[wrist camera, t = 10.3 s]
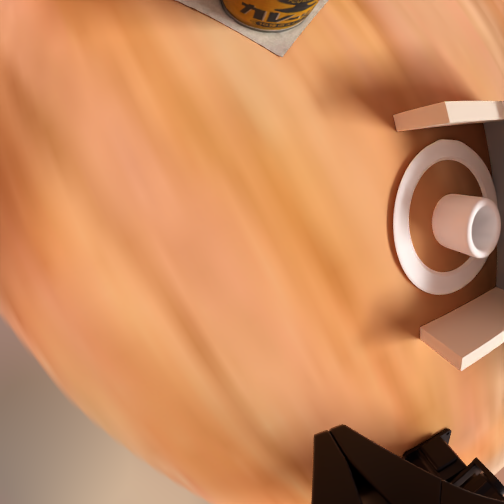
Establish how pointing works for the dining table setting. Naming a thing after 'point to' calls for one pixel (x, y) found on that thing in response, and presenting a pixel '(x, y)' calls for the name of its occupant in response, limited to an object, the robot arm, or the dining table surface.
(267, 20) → the condiment
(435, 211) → the white ring with cylinder
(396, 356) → the dining table surface
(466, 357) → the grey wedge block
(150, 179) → the dining table surface
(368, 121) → the dining table surface
